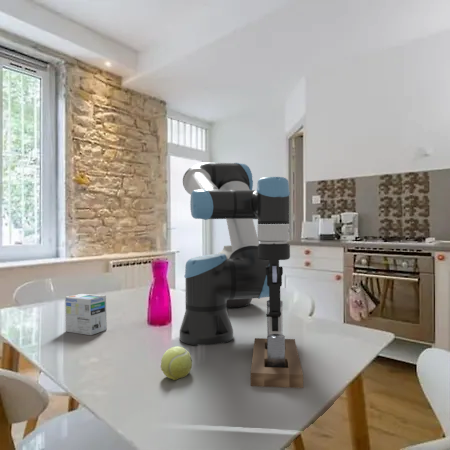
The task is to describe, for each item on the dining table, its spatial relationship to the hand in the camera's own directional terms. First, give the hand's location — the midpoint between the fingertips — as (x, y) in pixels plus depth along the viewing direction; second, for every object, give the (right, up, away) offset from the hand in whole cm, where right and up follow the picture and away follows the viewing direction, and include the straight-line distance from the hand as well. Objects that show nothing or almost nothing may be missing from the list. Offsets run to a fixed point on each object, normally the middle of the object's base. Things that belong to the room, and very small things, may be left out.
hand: (274, 341), depth 86 cm
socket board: (-1, -4, -5) cm, 7 cm away
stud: (0, -4, 0) cm, 4 cm away
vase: (-9, -5, +60) cm, 61 cm away
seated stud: (-1, -3, -11) cm, 12 cm away
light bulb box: (-54, -5, +25) cm, 60 cm away
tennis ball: (-22, -5, -10) cm, 25 cm away
